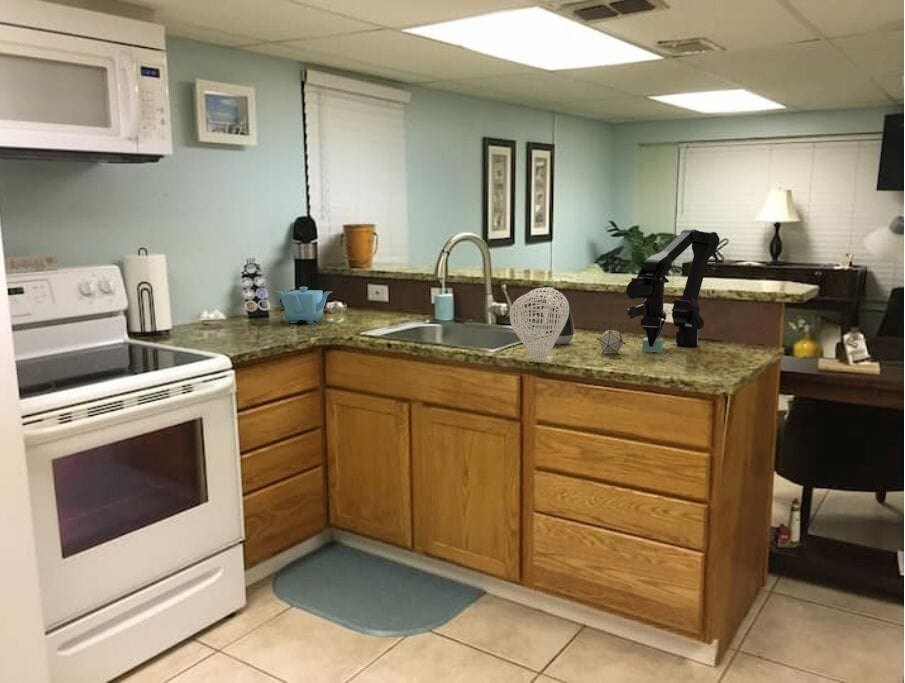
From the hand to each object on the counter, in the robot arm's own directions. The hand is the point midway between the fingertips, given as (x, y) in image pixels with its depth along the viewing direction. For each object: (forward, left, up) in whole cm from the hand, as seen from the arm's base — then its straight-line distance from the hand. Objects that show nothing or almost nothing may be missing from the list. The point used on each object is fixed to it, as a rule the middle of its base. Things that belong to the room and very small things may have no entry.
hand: (652, 344), depth 256 cm
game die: (+12, +9, -2) cm, 15 cm away
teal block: (0, 0, -2) cm, 2 cm away
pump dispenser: (+32, -3, -2) cm, 32 cm away
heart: (+30, +31, -2) cm, 43 cm away
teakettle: (+143, -16, -2) cm, 144 cm away
